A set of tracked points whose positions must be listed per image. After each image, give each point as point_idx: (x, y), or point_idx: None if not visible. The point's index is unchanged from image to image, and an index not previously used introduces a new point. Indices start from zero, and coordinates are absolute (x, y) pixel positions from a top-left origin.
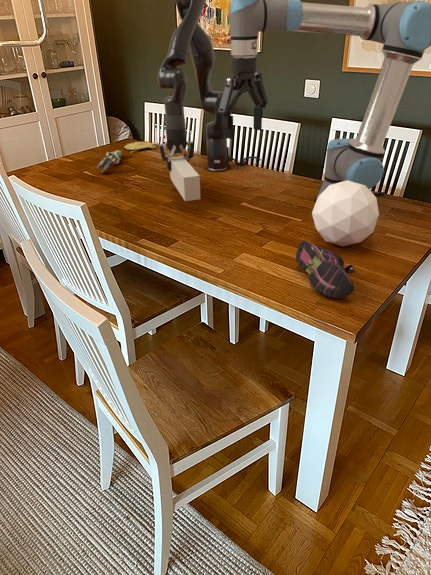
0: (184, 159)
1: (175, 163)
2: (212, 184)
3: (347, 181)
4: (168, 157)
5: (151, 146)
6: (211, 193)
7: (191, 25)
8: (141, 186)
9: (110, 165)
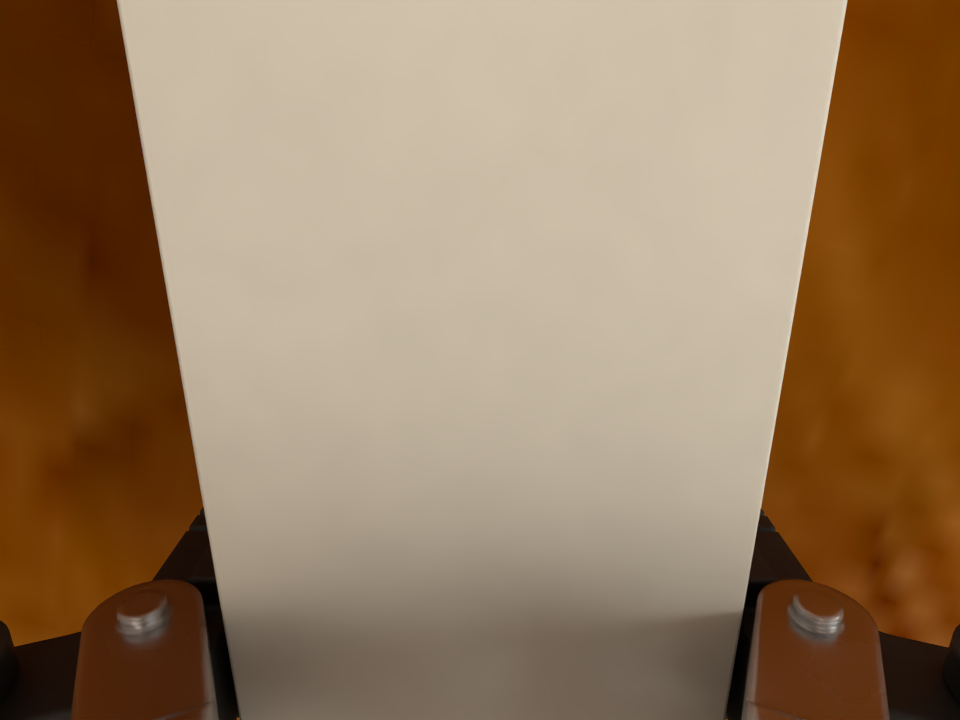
0: (256, 575)
1: (721, 181)
2: (8, 429)
3: None
4: (886, 713)
5: None
6: (41, 83)
7: None
8: None
9: None
